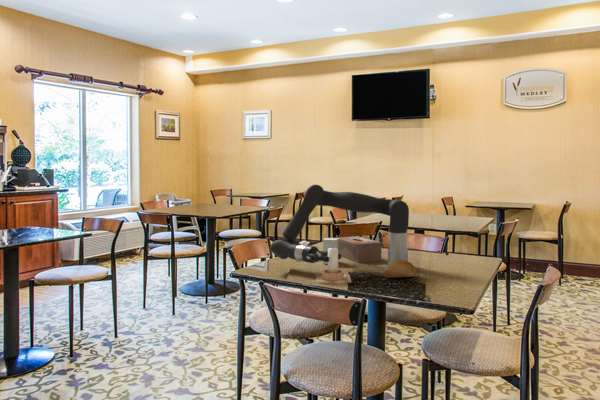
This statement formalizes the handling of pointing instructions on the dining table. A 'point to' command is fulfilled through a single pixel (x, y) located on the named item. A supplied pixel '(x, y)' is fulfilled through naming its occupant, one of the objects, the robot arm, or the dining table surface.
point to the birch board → (320, 280)
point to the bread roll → (399, 269)
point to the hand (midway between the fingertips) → (334, 258)
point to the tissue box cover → (359, 249)
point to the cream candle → (333, 260)
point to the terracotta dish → (333, 275)
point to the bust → (304, 243)
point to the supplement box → (329, 244)
